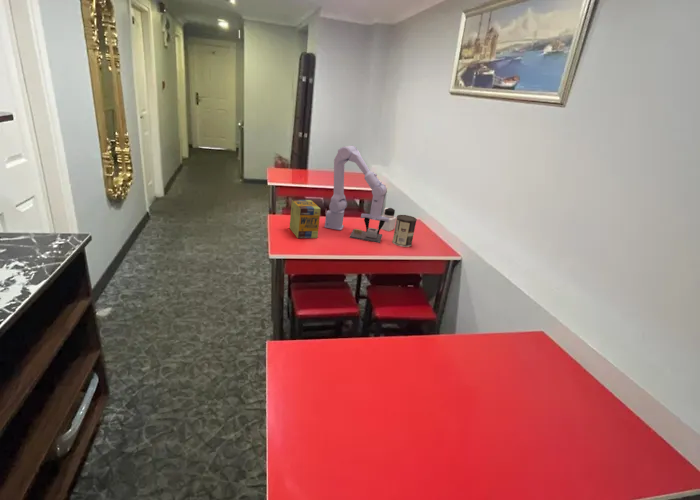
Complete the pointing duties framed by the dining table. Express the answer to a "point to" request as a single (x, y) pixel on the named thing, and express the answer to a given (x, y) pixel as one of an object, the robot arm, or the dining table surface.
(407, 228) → the coffee can
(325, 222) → the robot arm
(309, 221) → the protein box
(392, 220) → the medicine bottle
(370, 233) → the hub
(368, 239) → the shaft block
